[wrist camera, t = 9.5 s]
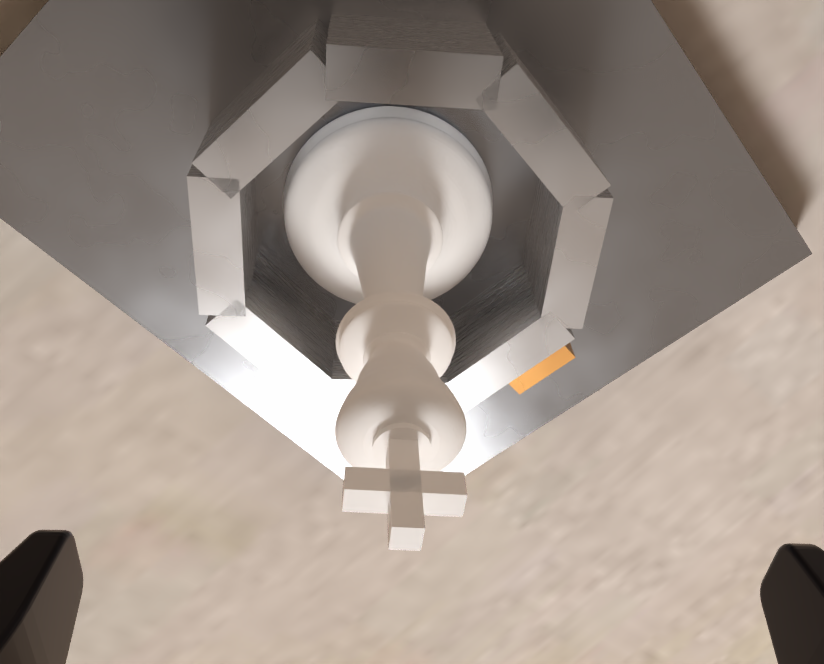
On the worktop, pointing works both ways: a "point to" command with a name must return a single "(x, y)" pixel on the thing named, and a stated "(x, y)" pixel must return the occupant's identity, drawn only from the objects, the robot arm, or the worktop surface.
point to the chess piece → (393, 297)
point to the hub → (372, 87)
